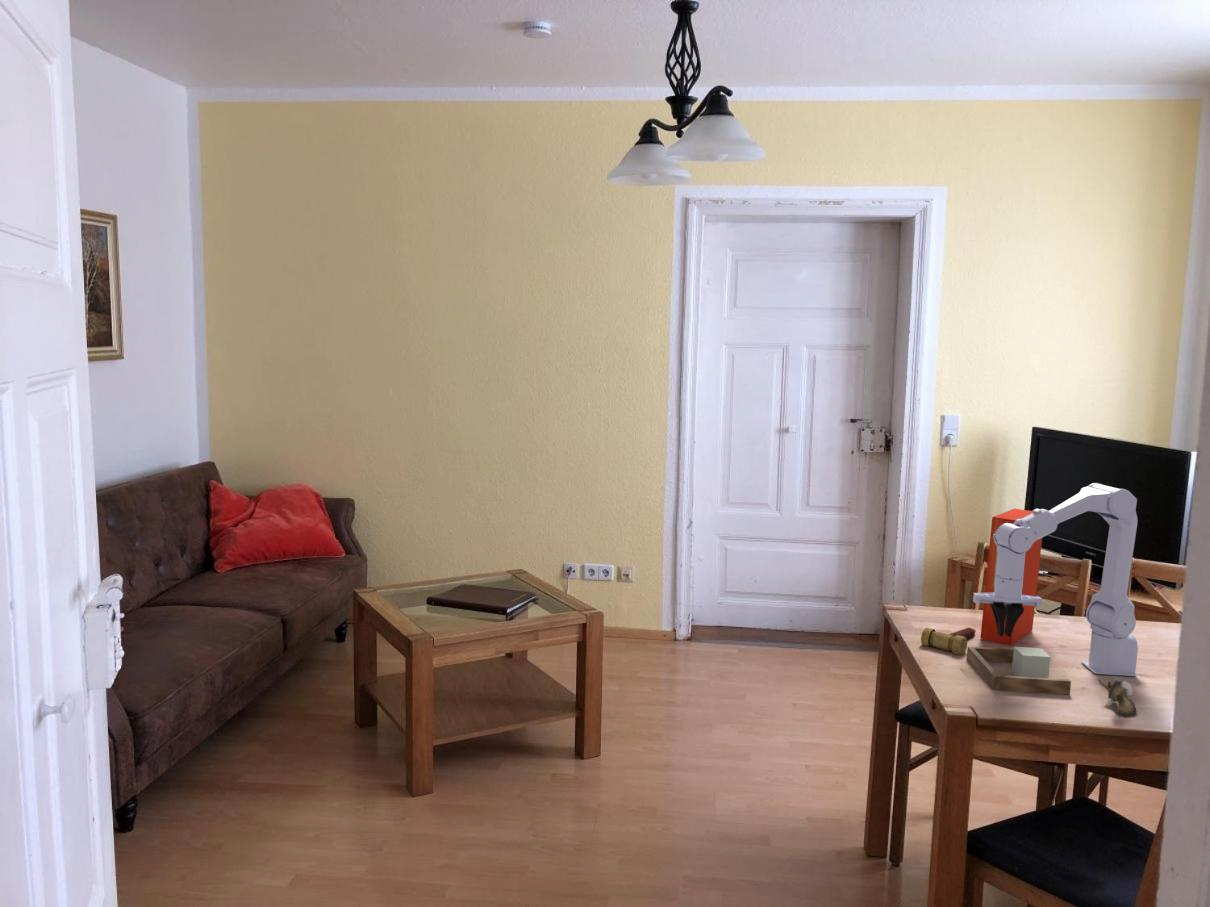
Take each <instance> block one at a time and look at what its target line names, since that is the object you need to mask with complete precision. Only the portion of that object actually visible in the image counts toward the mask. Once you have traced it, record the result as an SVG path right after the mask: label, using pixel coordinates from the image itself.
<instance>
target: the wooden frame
mask: <svg viewBox="0 0 1210 907" xmlns="http://www.w3.org/2000/svg"><path fill="white" fill-rule="evenodd" d="M1013 652H1014V648H1003V647H1001V648H1000V647H985V646H968V645H967V648H966V660H967V661H968V662H969V663H970V664H971V665H972V666H973V667H974V669H975V670H976V671H977V673H978V674H979V675H980V676H981V677H982V678H983V679H984V681H985V682H986V683H987V684H988V685H989V687H991V689H992V690H994V691H1006V692H1007V691H1009V692H1023V693H1038V694H1039V693H1040V694H1055V695H1056V694H1057V695H1070V694H1071V686H1072V681H1071V679H1069V678H1052V677H1048V678H1039V677H1022V676H1016V675H1004V674H1003V675H1001V674H998V673H997V672H996V670H995V669H993V667H992V666H991V665H990V664H989V663H988V662H993V663H1010V664H1012V663H1013Z"/></svg>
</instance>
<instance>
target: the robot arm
mask: <svg viewBox="0 0 1210 907" xmlns="http://www.w3.org/2000/svg"><path fill="white" fill-rule="evenodd" d="M1137 502H1138V498H1137V497H1136V496H1135V495H1133V494H1132V492H1130V490H1129V489H1128V490H1127V489H1125V488H1118V487H1113V486H1109V485H1105V484H1102V483H1099V482H1093V483H1091V484H1090V483H1089V485H1087V486H1084V487H1082V488H1081V489H1080V491H1079V492H1078V493H1077V494H1075V495H1073V496H1071V497H1070V498H1068V499H1067V500H1065V501H1063V502H1061V503H1060V504H1058V505H1056V506H1054V507H1052V508H1051V509H1050V510H1048V509H1044V508H1040V509H1039V508H1035V509H1033V510H1032V511H1033V513H1032V514H1030V515H1028V516H1026V517H1024V518H1022V519H1017V520H1015V522H1014V523H1013V524H1011V523H1005V524H1003V525H1001V526H1000V527H999V528H998V529H997V531H996V534H994V535H993V538H994V542H995V543H996V545H997V552H998V556H997V568H996V579H995V590H994V593H985V592H973V597H972V601H973V603H974V604H984V603H990V606H991V608H992V611H993V614H994V617H995V620H996V625H997V634H998V635H999V636H1003V635H1004V623H1005V617H1006V624H1005V634H1006V635H1007V636H1008V637H1011V634H1012V631H1013V628H1014V626H1015V624H1016V622H1017V620H1018V619H1019V617H1020V616H1021V615H1022V614H1023V612H1024V608H1023V607H1022V606H1023V605H1028V606H1035V608H1036V607H1037V608H1041V607H1042V602H1043V599H1042V598H1041V597H1040V596H1038V595H1036V596H1028V595H1022V585H1023V574H1024V563H1025V552H1026V551H1028V550H1029V549H1030V548H1031V546H1032V544H1033V543H1034V542H1035V541H1036V540H1038V539H1040V538H1042V539H1043V538H1044V537H1046V536H1048V535H1050V534H1052V533H1054V532H1056V531H1057V528H1058V525H1059V524H1060V523H1063V522H1066V521H1068V520H1070V519H1072V518H1075V517H1077V516H1079V515H1081V514H1084V513H1086V512H1094V513H1096V514H1098V515H1099V516H1101V517H1102V518H1103V520H1104V521H1106V522H1107V524H1108V525H1109V527H1108V528H1109V529H1108V536H1107V543H1106V550H1105V555H1104V556H1105V557H1104V562H1103V570H1102V577H1101V582H1100V584H1101V585H1100V590H1098V591H1097V592H1095V593H1094V594H1092V595H1091V601H1090V603H1089V605H1088V607H1087V608H1086V610H1085V611H1086V612H1085V617H1086V618H1085V619H1086V620H1087V622H1088V624H1089V625H1090V626H1089V628H1090V629H1091V635H1090V643H1089V644H1090V645H1089V654H1088V660H1081V664H1083V666H1085V667H1086V668H1088V670H1090V671H1091V672H1092V673H1093V674H1096V675H1107V676H1109V675H1111V676H1126V677H1127V676H1128V677H1137V676H1138V674H1137V673H1136V672H1137V671H1136V670H1137V662H1138V660H1137V659H1138V651H1139V648H1138V646H1139V644H1138V641H1137V639H1136V637H1135V635H1133V634H1132V633H1133V632H1134V630H1135V628H1136V624H1137V619H1136V616H1135V605H1134V603H1133V602H1132V600H1131V599H1130V597H1129V596H1128V588H1129V583H1130V582H1129V581H1130V576H1131V575H1130V574H1131V568H1132V561H1133V555H1134V549H1135V542H1136V535H1137V528H1138V521H1139V520H1138V515H1137V511H1136V509H1137ZM1004 604H1006V608H1005V606H1004Z"/></svg>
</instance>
